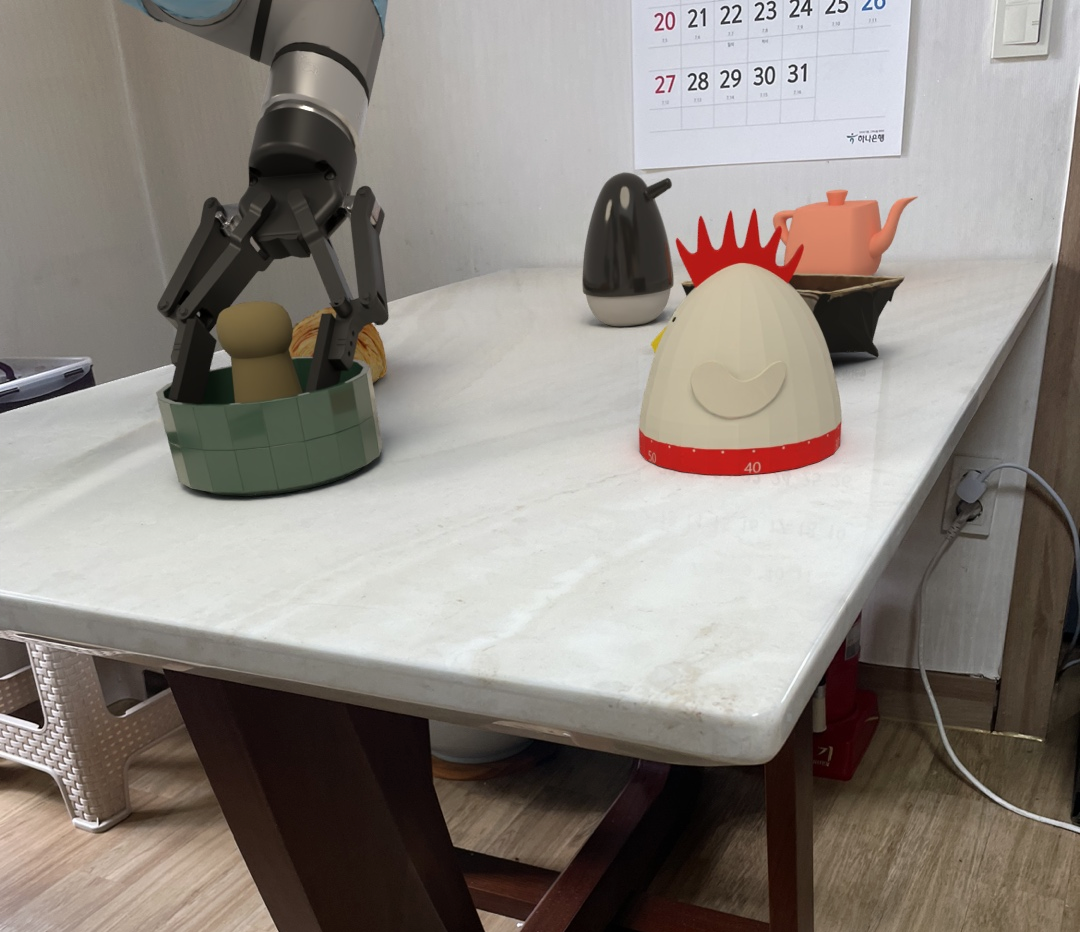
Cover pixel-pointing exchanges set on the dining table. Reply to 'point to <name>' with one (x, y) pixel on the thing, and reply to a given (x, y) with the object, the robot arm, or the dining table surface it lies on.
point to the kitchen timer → (740, 367)
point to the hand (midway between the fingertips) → (249, 409)
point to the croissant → (366, 347)
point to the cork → (259, 350)
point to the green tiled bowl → (273, 434)
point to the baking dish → (843, 306)
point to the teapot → (839, 234)
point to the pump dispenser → (627, 253)
